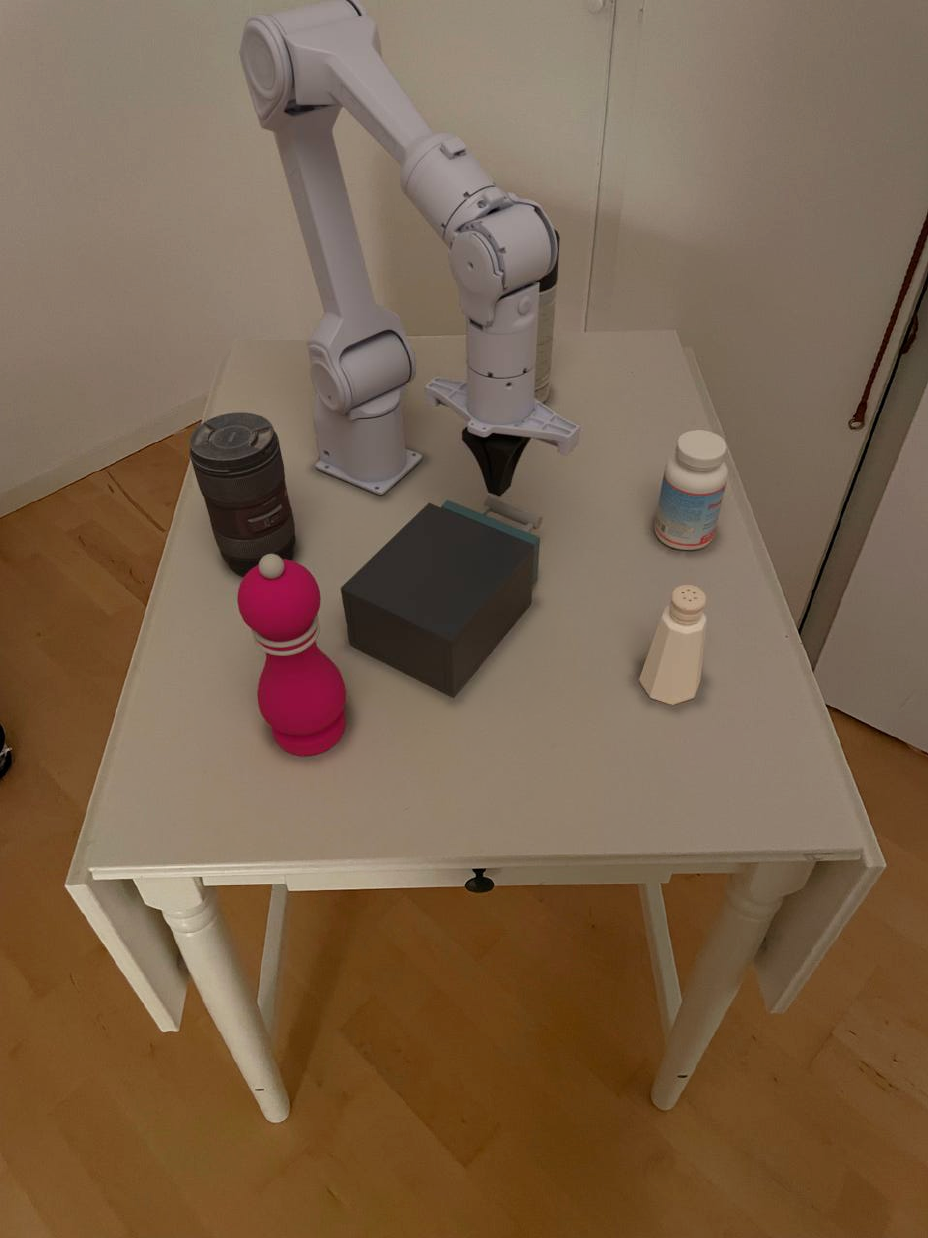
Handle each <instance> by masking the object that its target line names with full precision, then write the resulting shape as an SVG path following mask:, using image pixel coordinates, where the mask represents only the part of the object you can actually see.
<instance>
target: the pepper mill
mask: <svg viewBox="0 0 928 1238" xmlns="http://www.w3.org/2000/svg"><path fill="white" fill-rule="evenodd" d="M236 599H237V600H236V602H237V607H238V612H239V614H240V616H241V619H242V620H243V622H244V623H245V624H246V626H247V627H249V628H250V629H251V632H252V634H253V640H254V643H255V645H256V646H257V647H258V648H259V649H260V650H261V651H263V652H264V654H265V662H264V665H263V668H262V670H261V673H260V675H259V678H258V685H257V691H256V692H257V702H258V709H259V712H260V715H261V716H262V718H263V719H264V721H265V722H266V723H267V724H268V725H269V726H270V728H271V732H272V736H273V738H274V740H275V742H276V744H277V745H278V746H279V747H280V748H281V749H283V750H284V752H287V753H289V754H292V755H294V756H295V755H296V756H300V757H301V756H303V757H308V756H316V755H318V754H322V753H324V752H326V751H327V750H329V749H331V748H333V747H334V746H335V745H336V744H338V742H339V741H340V739H341V738H342V736H343V735H344V733H345V730H346V724H347V719H346V713H345V705H346V702H347V687H346V684H345V681H344V678H343V675H342V673H341V672H340V669H339V668H338V667H337V665H336V664H335V662H333V660H331V658H330V657H329V656H327V654H325V653H324V652H323V651H322V650H321V649H320V648H319V647H318V644H317V639H318V637H319V634H320V630H321V625H320V621H319V615H318V613H319V610H320V607H321V601H322V600H321V591H320V587H319V584H318V582H317V580H316V578H315V576H314V575H313V574H312V572H310V570H309V569H308V568H307V567H305V566H304V565H302V564H301V563H299V562H296V561H294V560H291V561H290V560H287V559H281V558H280V557H279V556H278V555H275V554H267V555H265V556H264V557H263V558H262V559H261V560H260V562H259V564H258V565H257V566H255V567H253V568H252V569H251V570H250V571H249V572H248V573H247V574H246V575H245V576H244V577H242V579H241V581H240V583H239V586H238V590H237V598H236Z"/></svg>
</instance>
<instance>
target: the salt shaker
mask: <svg viewBox="0 0 928 1238" xmlns="http://www.w3.org/2000/svg"><path fill="white" fill-rule="evenodd" d="M706 604H707V595H706V594H705V592H704V591H703V590H702V589H701V588H699V587H697V586H695V585H692V584H684V585H683V584H682V585H679V586H677V587H675V588H673V590H672V592H671V595H670V603H669V605H666V606H665V608H664V610H663V613H662V615H661V617H660V620H659V623H658V625H657V628H656V631H655V633H654V637H653V639H652V642H651V645H650V647H649V650H648V653H647V656H646V658H645V661H644V664H643V667H642V671H641V673H640V675H639V678H638V682H639V683H640V684H641V686H642V688H643V689H644V691H645V692H646V694H647V695H648V697H649V698H650V699H652V700H656V701H659V702H662V703H664V704H668V705H671V706H674V705H677V704H681V703H683V702H687V701H689V700H693V699H695V697H696V694H697V692H698V688H699V685H700V683H701V677H702V669H703V660H704V659H703V658H704V650H705V642H706V641H705V640H706V631H707V621H708V620H707V616H706V615H705V614H704V610H705V606H706Z"/></svg>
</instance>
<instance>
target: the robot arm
mask: <svg viewBox="0 0 928 1238" xmlns="http://www.w3.org/2000/svg"><path fill="white" fill-rule="evenodd" d="M238 53H239V59H240V63H241V67H242V70H243V74H244V78H245V81H246V84H247V87H248V91H249V94H250V98H251V101H252V104H253V108H254V111H255V113H256V115H257V119H258V122H259V126H260V128H261V129H263V130H266V131H270V132H272V133H273V136H274V140H275V144H276V148H277V151H278V155H279V157H280V162H281V166H282V169H283V172H284V175H285V179H286V183H287V186H288V189H289V193H290V197H291V200H292V203H293V207H294V210H295V214H296V217H297V221H298V225H299V227H300V231H301V235H302V238H303V242H304V245H305V249H306V252H307V256H308V259H309V264H310V266H311V270H312V274H313V277H314V281H315V284H316V287H317V292H318V295H319V299H320V302H321V305H322V309H323V314H322V316H321V318H320V320H319V322H318V323H317V324H316V326H315V327H314V329H313V331H312V332H311V334H310V335H309V337H308V338H307V340H306V347H307V352H308V357H309V362H310V379H311V382H312V386H313V388H314V391H315V392H316V395H317V398H316V399H315V403H314V406H313V412H312V413H313V414H312V417H313V418H312V419H313V427H314V432H315V438H316V439H315V440H316V443H317V444H316V445H317V450H318V451H317V452H318V457H319V461H317V462H316V463H315V468H316V470H318V471H321V472H323V473H326V474H328V475H331V476H333V477H336V478H338V479H340V480H343V481H345V482H348V483H349V484H352V485H354V486H357V487H359V488H361V489H363V490H366V491H369V492H371V493H374V494H376V495H378V496H384V495H385V494H386V493H387V492H388V491H389V490H390V489H391V488H393V487H394V486H395V485H396V484H397V483H398V482H399V481H400V480H401V479H402V478H404V476H405V475H407V474H408V473H409V472H410V471H412V470H413V468H414V467H416V466H417V465H418V464H419V463H420V462H421V461H422V460H423V455H422V454H421V453H419V452H416V451H414V450H411V449H408V448H406V443H405V440H406V439H405V429H404V418H403V417H404V416H403V405H402V403H403V401H402V398H403V397H404V396H406V395H407V394H408V389H407V384H409V383H411V382H412V381H413V380H414V379H415V377H416V373H417V357H416V353H415V350H414V348H413V345H412V343H411V341H410V340H409V338H408V336H407V334H406V332H405V329H404V326H403V323H402V320H401V319H402V318H401V316H399V314H397V313H396V312H394V311H393V310H391V309H389V308H388V307H387V308H386V307H385V306H382V305H380V304H377V303H376V300H375V296H374V292H373V287H372V284H371V281H370V280H371V279H370V277H369V272H368V268H367V264H366V260H365V257H364V252H363V248H362V245H361V241H360V235H359V232H358V228H357V224H356V221H355V216H354V212H353V209H352V204H351V201H350V197H349V193H348V190H347V189H348V188H347V185H346V181H345V177H344V173H343V169H342V166H341V161H340V157H339V153H338V149H337V145H336V142H335V138H334V134H333V129H334V127H335V124H336V122H337V120H338V117H339V115H340V113H341V111H342V109H343V108H344V109H345V110H346V111H347V112H348V113H349V115H351V116H352V117H353V118H354V120H356V121H357V122H358V123H359V124H360V125H361V126H362V127H363V128H364V130H365V131H367V133H368V134H370V136H371V137H372V138H373V139H374V140H375V141H376V142H377V143H378V144H379V145H380V146H381V147H382V148H383V149H384V150H385V151H386V152H387V153H388V154H389V155H390V156H391V157H392V158H393V159H394V160H395V161H396V162H397V163H398V165H400V168H401V169H400V177H399V184H400V189H401V191H402V193H403V194H404V196H406V198H407V199H408V200H409V201H410V203H411V204H412V205H413V206H414V207H415V209H416V210H417V211H418V212H419V213H420V215H421V216H422V217H423V218H424V219H425V221H426V223H428V224H429V226H430V227H431V228H432V229H433V231H434V232H435V233H436V234H437V236H438V237H439V238H440V239H441V241H442V242H443V243H444V244H445V245H446V247H447V248H448V250H447V260H448V265H449V269H450V272H451V275H452V277H453V280H454V282H455V285H456V287H457V290H458V299H459V300H458V304H459V306H460V307H461V312H462V314H463V315H464V316H465V336H466V337H465V340H466V341H465V342H466V344H465V345H466V381H465V380H456V379H450V378H445V377H442V376H439V375H437V376H436V377H434V378H433V379H431V381H430V382H429V383H427V384H426V385H425V386H424V391H425V392H424V393H425V404H426V405H427V406H430V407H433V408H437V407H438V406H443V407H447V408H449V409H451V410H452V411H453V412H455V413H456V414H457V415H459V416H460V417H461V418H463V419H464V421H466V422H467V424H466V426H465V427H464V428H463V429H462V431H461V440H462V441H463V443H464V444H465V445H466V446H467V448H468V449H469V451H470V452H471V453H472V455H473V457H474V459H475V460H476V463H477V465H478V467H479V469H480V472H481V475H482V477H483V480H484V484H485V487H486V490H487V493H488V494H491V495H493V496H496V497H498V498H500V497H502V496H503V495H505V493H506V492H507V491H508V490H509V489H510V488H511V486H512V483H513V478H514V475H515V471H516V469H517V466H518V463H519V461H520V459H521V457H522V454H523V453H524V450H525V449H526V447H527V446H528V444H529V442H530V440H531V439H534V440H537V441H540V442H542V443H546V444H548V445H551V446H553V447H556V448H557V453H559V454H561V455H564V456H567V457H568V456H569V455H570V454H571V453H572V452H574V450H575V449H576V448H577V446H578V445H579V443H580V435H581V434H580V432H581V426H580V424H577V423H574V422H572V421H570V420H568V419H566V418H564V417H563V416H561V415H560V414H559V413H557V412H555V411H554V410H553V409H551V408H550V407H548V406H547V405H546V404H544V403H543V404H542V403H541V402H540V401H538V400H537V399H535V398H534V386H535V364H536V346H537V324H538V303H539V282H535V281H537V280H539V279H541V278H542V277H543V276H546V275H547V274H549V273H550V272H551V271H552V269H553V267H554V265H555V263H556V259H557V239H556V235H555V231H554V229H555V228H554V225H553V224H552V222H551V220H550V218H549V216H548V215H547V214H546V213H545V211H544V209H543V207H542V205H540V204H539V203H538V202H536V201H535V200H533V199H530V198H521V197H519V196H517V194H515V192H510V191H508V192H505V191H504V190H503V189H502V188H501V186H500V185H499V184H498V183H497V182H496V181H495V180H494V178H493V177H492V176H491V175H490V173H489V172H488V171H487V170H486V169H485V167H484V166H483V165H482V164H481V163H480V161H479V160H478V159H477V158H476V156H475V155H473V153H472V152H471V151H470V149H469V148H468V147H467V145H466V144H465V143H464V142H463V141H462V139H461V138H460V137H459V136H457V135H456V134H454V133H453V132H447V131H445V132H444V131H441V132H434V130H433V129H432V128H431V126H430V124H428V122H427V121H426V118H425V117H424V116H423V115H422V114H421V112H420V110H419V109H418V107H417V106H416V105H415V103H414V102H413V100H412V99H411V97H410V96H409V95H408V93H407V92H406V91H405V89H404V88H403V86H402V85H401V83H400V82H399V80H398V79H397V78H396V76H395V74H394V73H393V72H392V71H391V69H390V68H389V66H388V65H387V63H386V62H385V59H383V56H382V43H381V38H380V34H379V28H378V25H377V22H376V21H375V20H374V19H372V18H371V17H370V16H369V13H368V12H367V10H366V9H365V7H364V6H363V4H362V3H361V2H360V1H359V0H323V1H318V2H315V3H309V4H306V5H301V6H297V7H293V8H289V9H284V10H280V11H276V12H272V13H267V14H259V13H257V14H253V15H251V16H249V17H248V18H247V20H246V22H245V25H244V27H243V32H242V37H241V42H240V45H239V51H238Z"/></svg>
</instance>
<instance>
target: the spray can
mask: <svg viewBox="0 0 928 1238" xmlns="http://www.w3.org/2000/svg"><path fill="white" fill-rule="evenodd" d="M554 231H555V235H556V239H557V259H556V263H555V265H554V267H553V269H552V271H551V272H550V273H549V274H547V275H546V276H543V277H542V278H541V279H539V280H537V281H535V282H539V303H538V324H537V346H536V364H535V386H534V398H535V399H537V400H538V401H540V402H541V403H542V404H544V403H545V402H546V401H547V400H548V397H549V395H550V387H551V375H552V374H551V373H552V362H553V361H552V359H553V345H554V344H553V342H554V331H555V318H556V316H555V315H556V303H557V302H556V301H557V290H558V281H559V279H558V278H559V261H560V260H559V259H560V258H559V256H560V240H561V239H560V234H559V232H558V230H556V229H555V228H554Z"/></svg>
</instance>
